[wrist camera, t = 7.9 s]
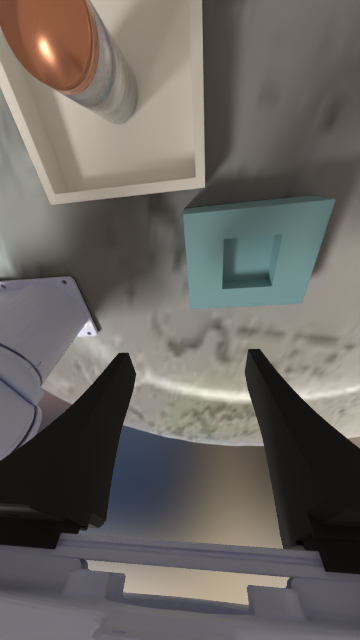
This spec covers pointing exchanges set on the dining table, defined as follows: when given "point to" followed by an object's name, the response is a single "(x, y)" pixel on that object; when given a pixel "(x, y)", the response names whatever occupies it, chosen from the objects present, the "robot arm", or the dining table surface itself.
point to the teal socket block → (253, 250)
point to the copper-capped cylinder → (71, 54)
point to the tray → (140, 130)
